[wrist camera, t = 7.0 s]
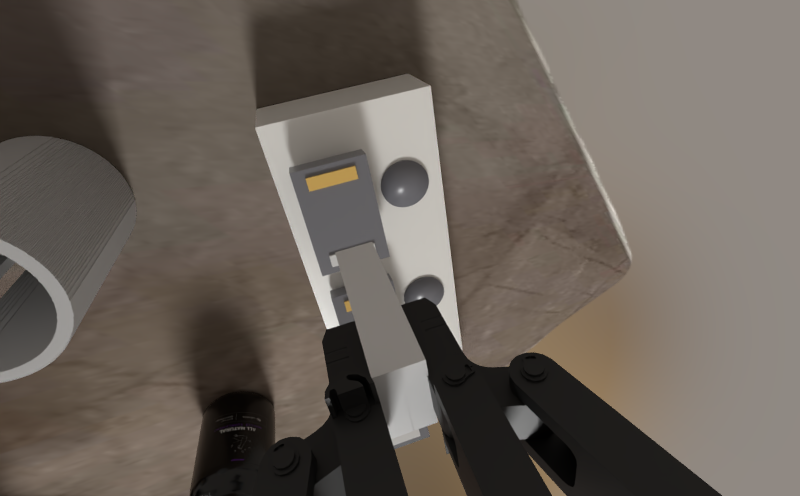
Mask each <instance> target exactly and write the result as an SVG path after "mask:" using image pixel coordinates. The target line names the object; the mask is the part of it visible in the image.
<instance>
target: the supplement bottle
mask: <svg viewBox="0 0 800 496" xmlns="http://www.w3.org/2000/svg"><path fill="white" fill-rule="evenodd" d="M274 444H275V411H274V408H273V406H272V404H271V403H270V402H269V401H268V400H267V399H266V398H265V397H263V396H261V395H259V394H256V393H251V392H235V393H231V394H227V395H224V396H222V397H220V398H218V399H217V400H215V401H214V402H213V403H211V404H210V406H209V407H208V408H207V409H206V411H205V413H204V416H203V420H202V425H201V431H200V436H199V442H198V448H197V454H196V459H195V465H194V471H193V477H192V483H191V489H190V496H252V494H253V490H254V486H255V481H256V477H257V473H258V469H259V465H260V463H261V460H262V458H263V456H264V454H265V453H266V452H267V451H268V449H269V448H270V447H271V446H272V445H274Z"/></svg>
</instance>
